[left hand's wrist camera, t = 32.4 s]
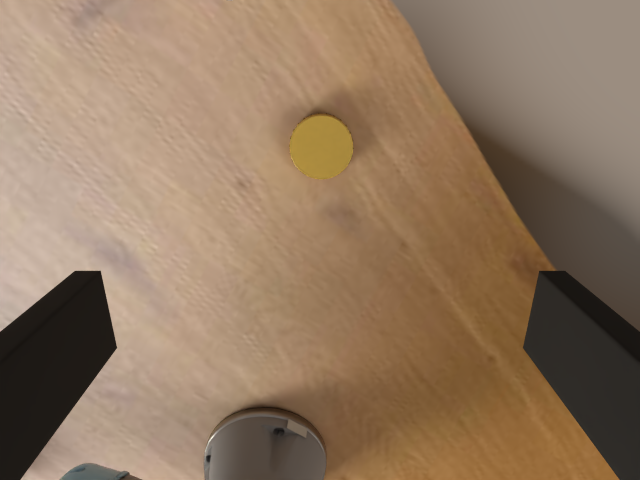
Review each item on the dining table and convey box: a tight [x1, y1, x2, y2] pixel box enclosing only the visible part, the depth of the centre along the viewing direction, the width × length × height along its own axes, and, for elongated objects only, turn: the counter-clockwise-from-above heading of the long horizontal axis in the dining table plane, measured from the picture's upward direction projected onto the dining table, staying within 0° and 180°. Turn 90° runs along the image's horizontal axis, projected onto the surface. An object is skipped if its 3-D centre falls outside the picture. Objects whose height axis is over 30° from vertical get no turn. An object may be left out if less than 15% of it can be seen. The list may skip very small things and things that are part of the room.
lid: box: [289, 113, 354, 179], centre depth 39 cm, size 6×6×2 cm
